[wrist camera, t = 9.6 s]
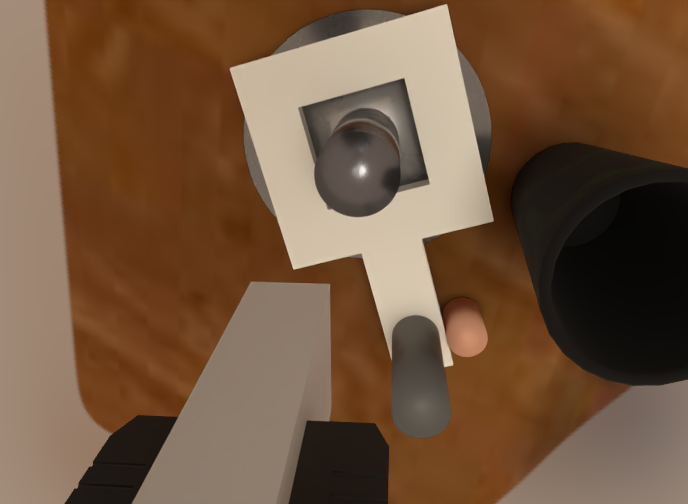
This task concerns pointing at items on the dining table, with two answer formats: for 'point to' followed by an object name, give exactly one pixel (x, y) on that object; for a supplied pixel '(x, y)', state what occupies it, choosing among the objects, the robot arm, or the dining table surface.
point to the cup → (608, 259)
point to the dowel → (464, 327)
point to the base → (367, 130)
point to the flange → (410, 200)
